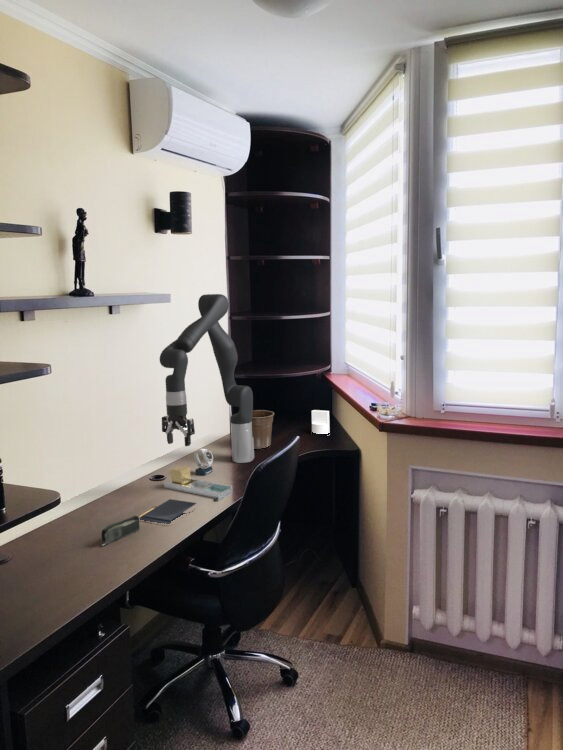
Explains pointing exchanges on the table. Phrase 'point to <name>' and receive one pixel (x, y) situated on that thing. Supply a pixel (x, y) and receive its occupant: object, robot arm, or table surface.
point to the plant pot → (262, 428)
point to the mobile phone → (120, 529)
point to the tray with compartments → (203, 488)
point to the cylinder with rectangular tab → (320, 422)
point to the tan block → (181, 475)
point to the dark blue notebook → (167, 511)
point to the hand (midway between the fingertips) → (179, 444)
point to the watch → (207, 457)
